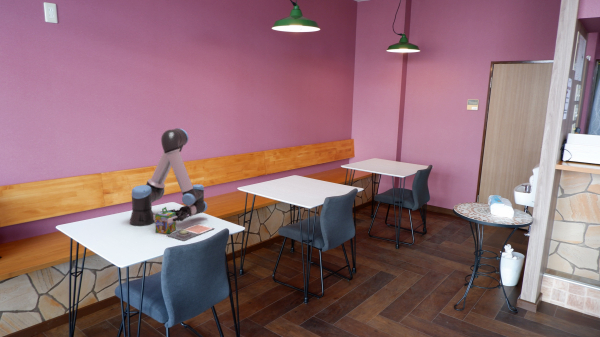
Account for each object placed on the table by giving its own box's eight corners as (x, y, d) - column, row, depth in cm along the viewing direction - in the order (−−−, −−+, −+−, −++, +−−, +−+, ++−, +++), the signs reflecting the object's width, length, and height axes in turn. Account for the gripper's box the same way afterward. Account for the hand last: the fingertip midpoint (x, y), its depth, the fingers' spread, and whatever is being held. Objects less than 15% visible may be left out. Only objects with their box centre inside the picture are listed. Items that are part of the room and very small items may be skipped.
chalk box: (169, 234, 235) (168, 210, 233) (155, 232, 237) (154, 209, 234) (176, 229, 244) (176, 206, 242) (163, 228, 246) (162, 205, 243)
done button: (178, 234, 231) (178, 231, 231) (183, 232, 235) (183, 229, 234) (183, 236, 229) (183, 232, 229) (188, 234, 233) (188, 230, 232)
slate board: (166, 236, 232) (166, 232, 232) (197, 224, 255) (197, 221, 254) (183, 241, 225) (183, 237, 225) (214, 229, 248) (214, 225, 247)
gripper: (201, 220, 250) (175, 229, 231) (174, 213, 261) (147, 221, 242) (201, 208, 248) (175, 217, 230) (174, 202, 260) (147, 209, 241)
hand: (160, 219), depth 236 cm, fingers open, 11 cm apart
